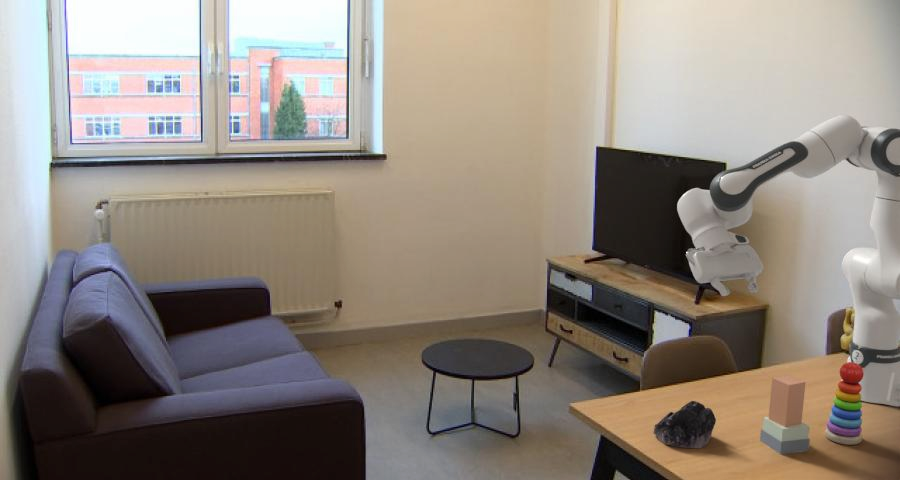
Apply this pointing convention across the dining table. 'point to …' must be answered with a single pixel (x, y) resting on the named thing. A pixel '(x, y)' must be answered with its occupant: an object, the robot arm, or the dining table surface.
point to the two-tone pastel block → (785, 437)
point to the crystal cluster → (687, 426)
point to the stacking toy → (847, 407)
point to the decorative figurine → (848, 329)
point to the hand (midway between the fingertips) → (741, 292)
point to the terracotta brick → (786, 400)
